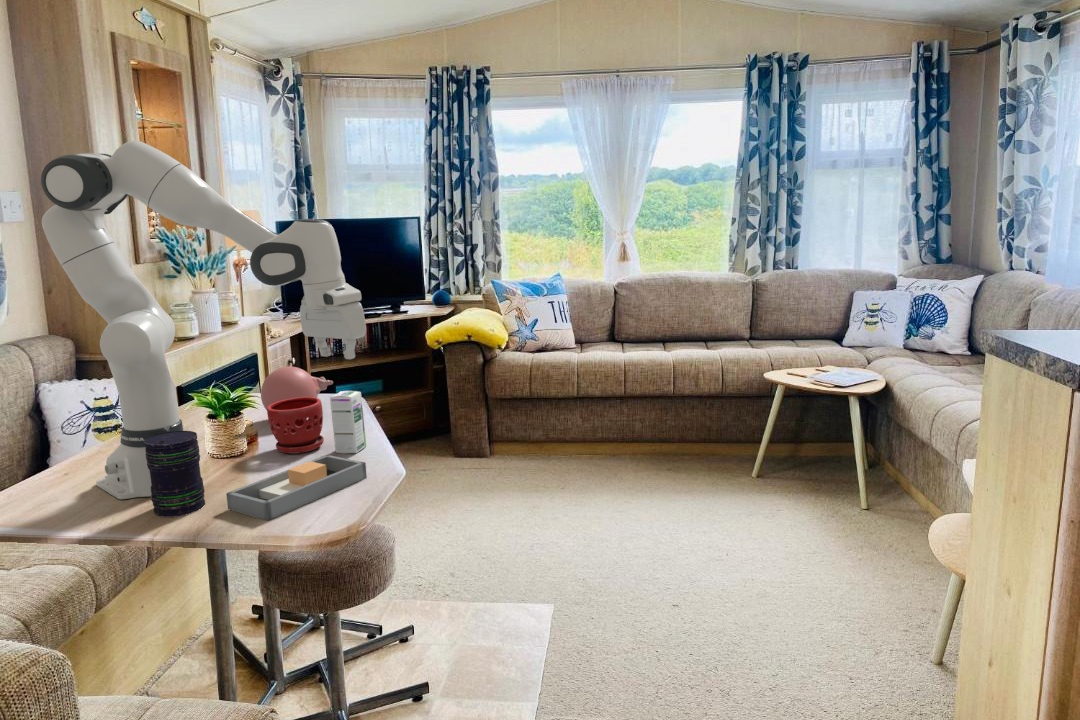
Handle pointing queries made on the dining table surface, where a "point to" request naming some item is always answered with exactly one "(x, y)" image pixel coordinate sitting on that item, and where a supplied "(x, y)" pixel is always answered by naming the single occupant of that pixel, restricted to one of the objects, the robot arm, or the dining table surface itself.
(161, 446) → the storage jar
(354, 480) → the tray box
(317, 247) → the robot arm
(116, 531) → the dining table surface
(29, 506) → the dining table surface
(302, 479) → the wooden block
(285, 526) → the dining table surface
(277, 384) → the balloon
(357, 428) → the syrup box
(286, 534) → the dining table surface
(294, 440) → the plant pot
